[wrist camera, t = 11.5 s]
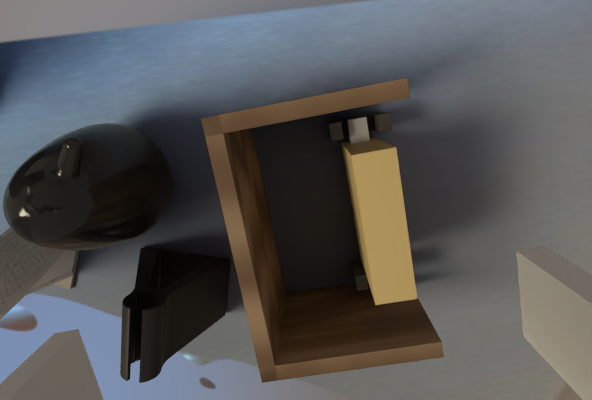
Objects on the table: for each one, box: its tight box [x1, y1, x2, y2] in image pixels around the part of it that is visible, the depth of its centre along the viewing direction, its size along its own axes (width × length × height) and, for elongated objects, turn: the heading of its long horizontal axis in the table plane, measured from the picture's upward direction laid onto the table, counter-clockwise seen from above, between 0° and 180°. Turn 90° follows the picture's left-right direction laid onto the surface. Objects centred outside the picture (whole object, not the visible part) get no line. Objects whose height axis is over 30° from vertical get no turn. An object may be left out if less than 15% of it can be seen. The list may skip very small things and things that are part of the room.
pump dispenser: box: [3, 123, 173, 251], centre depth 32 cm, size 10×10×15 cm
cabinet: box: [201, 78, 444, 382], centre depth 34 cm, size 19×13×12 cm
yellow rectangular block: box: [341, 117, 417, 305], centre depth 34 cm, size 15×3×11 cm, turn 11°
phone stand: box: [120, 248, 230, 382], centre depth 36 cm, size 9×6×12 cm, turn 83°
